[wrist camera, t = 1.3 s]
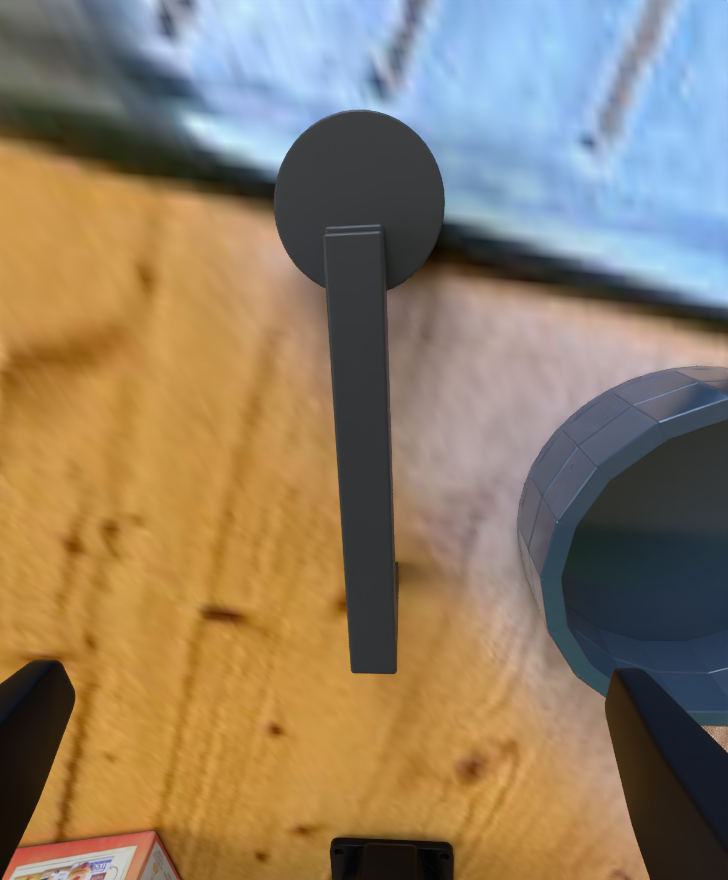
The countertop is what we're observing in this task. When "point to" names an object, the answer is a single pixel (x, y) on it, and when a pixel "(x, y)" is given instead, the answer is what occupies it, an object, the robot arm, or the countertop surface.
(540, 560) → the bowl
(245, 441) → the countertop surface
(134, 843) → the cracker box
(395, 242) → the dark grey handle
